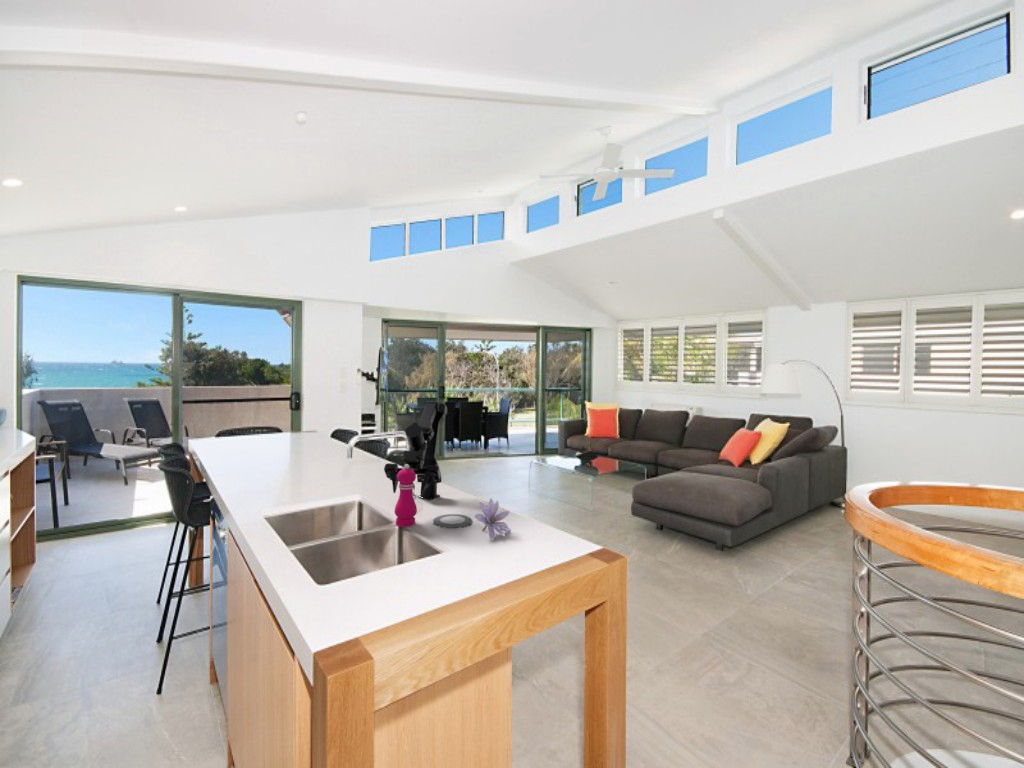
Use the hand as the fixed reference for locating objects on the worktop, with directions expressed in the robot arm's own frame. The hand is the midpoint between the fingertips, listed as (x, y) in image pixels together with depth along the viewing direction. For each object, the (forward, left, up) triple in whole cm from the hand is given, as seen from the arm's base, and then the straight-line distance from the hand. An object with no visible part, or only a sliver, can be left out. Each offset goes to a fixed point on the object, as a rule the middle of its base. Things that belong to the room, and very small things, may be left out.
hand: (407, 493), depth 167 cm
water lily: (-4, +31, -10) cm, 33 cm away
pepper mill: (+2, +1, -10) cm, 10 cm away
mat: (-8, +13, -10) cm, 18 cm away
